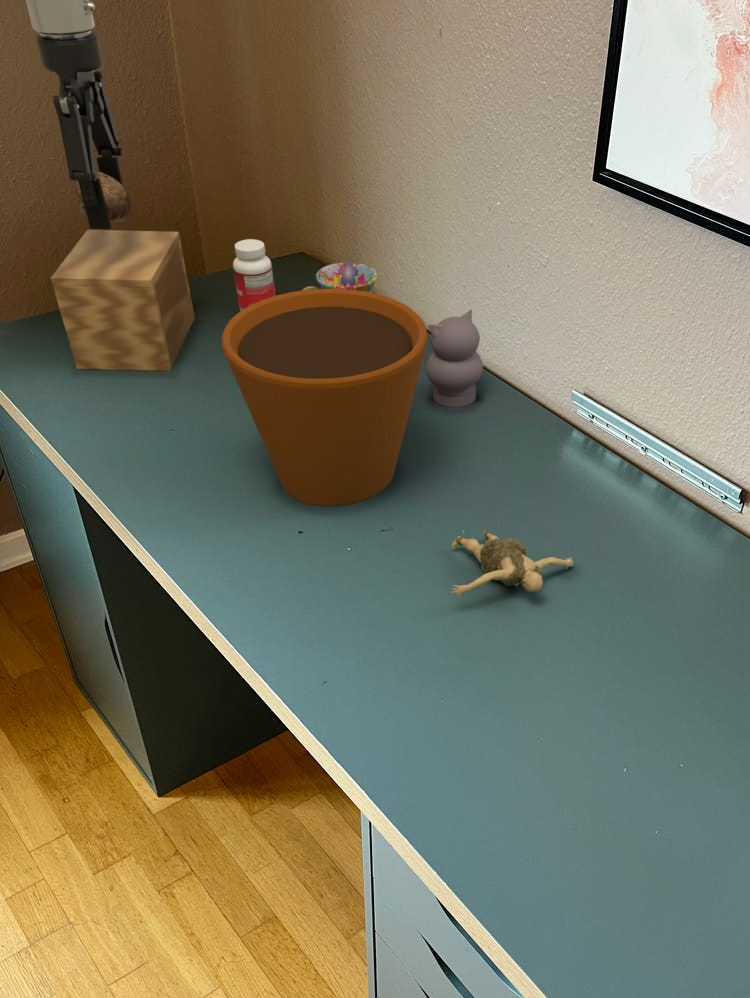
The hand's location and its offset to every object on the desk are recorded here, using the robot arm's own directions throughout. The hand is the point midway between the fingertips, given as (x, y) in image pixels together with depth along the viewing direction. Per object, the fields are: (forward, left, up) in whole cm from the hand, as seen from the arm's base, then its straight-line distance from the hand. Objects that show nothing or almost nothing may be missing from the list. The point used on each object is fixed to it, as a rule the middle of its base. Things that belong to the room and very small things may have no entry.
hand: (109, 216), depth 137 cm
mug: (+32, +2, -20) cm, 37 cm away
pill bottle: (+17, +12, -20) cm, 29 cm away
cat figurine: (+50, -15, -20) cm, 56 cm away
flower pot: (+35, -36, -20) cm, 54 cm away
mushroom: (0, 0, 0) cm, 0 cm away
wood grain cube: (0, 0, -19) cm, 19 cm away
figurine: (+56, -56, -20) cm, 81 cm away
